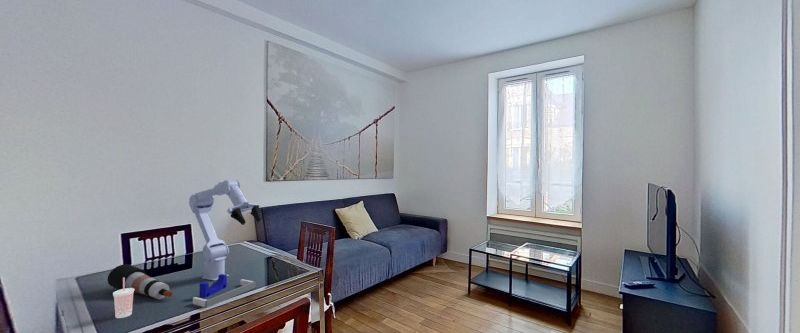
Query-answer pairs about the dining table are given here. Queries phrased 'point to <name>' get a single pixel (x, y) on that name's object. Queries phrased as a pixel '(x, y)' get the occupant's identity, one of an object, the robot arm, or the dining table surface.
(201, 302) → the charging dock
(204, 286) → the cable clip
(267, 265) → the dining table surface
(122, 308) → the beverage cup
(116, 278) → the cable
